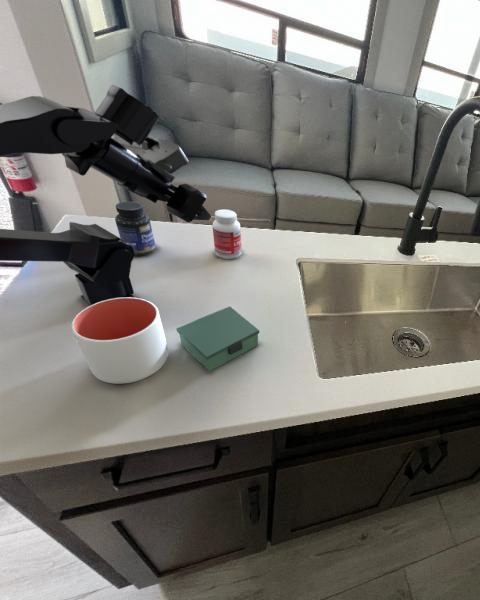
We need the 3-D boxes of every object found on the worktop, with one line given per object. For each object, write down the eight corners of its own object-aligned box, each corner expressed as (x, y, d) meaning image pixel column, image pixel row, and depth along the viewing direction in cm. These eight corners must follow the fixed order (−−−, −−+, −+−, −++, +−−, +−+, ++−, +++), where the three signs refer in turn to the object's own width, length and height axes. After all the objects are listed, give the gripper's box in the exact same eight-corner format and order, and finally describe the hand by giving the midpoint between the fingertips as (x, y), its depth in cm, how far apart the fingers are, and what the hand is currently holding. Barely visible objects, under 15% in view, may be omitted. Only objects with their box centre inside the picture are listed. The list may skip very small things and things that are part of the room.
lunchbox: (210, 374, 56) (207, 358, 54) (178, 343, 59) (174, 327, 57) (261, 346, 63) (260, 331, 61) (230, 320, 67) (229, 305, 64)
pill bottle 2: (238, 261, 83) (236, 221, 77) (211, 257, 82) (207, 216, 75) (244, 249, 88) (242, 210, 82) (219, 245, 86) (215, 206, 80)
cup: (85, 393, 48) (60, 346, 43) (100, 345, 55) (81, 299, 50) (166, 381, 53) (154, 337, 47) (172, 338, 60) (162, 295, 54)
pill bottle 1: (151, 257, 76) (140, 213, 70) (119, 255, 74) (105, 209, 68) (159, 244, 81) (150, 202, 74) (130, 242, 79) (118, 198, 72)
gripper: (187, 145, 54) (246, 194, 69) (115, 111, 59) (184, 164, 74) (150, 201, 53) (217, 239, 68) (78, 162, 58) (157, 206, 73)
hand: (194, 210), depth 71 cm, fingers open, 9 cm apart
